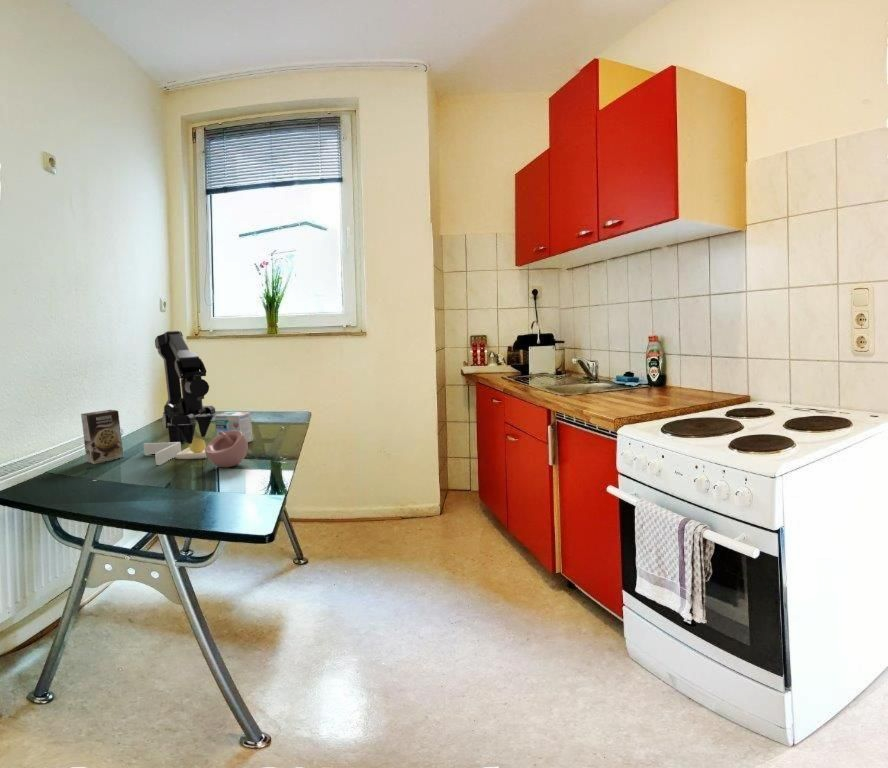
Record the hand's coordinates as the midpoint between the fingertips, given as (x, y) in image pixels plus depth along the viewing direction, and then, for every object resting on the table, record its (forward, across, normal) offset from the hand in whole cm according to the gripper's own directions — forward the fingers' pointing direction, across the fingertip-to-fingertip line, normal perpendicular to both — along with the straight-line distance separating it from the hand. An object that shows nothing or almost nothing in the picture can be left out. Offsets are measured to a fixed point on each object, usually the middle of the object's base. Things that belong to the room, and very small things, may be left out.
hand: (196, 440), depth 173 cm
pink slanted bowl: (+5, +16, +17) cm, 24 cm away
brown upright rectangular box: (+5, +2, -30) cm, 31 cm away
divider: (+5, +5, -13) cm, 15 cm away
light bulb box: (+5, -16, +6) cm, 18 cm away
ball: (+4, 0, 0) cm, 4 cm away
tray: (+5, 0, 0) cm, 5 cm away
